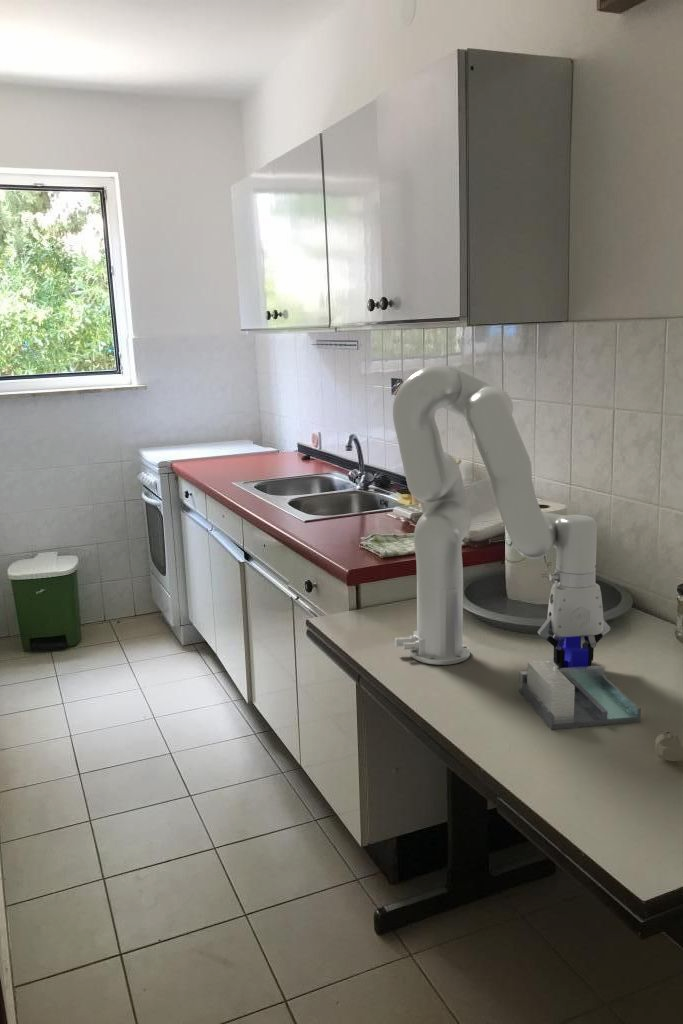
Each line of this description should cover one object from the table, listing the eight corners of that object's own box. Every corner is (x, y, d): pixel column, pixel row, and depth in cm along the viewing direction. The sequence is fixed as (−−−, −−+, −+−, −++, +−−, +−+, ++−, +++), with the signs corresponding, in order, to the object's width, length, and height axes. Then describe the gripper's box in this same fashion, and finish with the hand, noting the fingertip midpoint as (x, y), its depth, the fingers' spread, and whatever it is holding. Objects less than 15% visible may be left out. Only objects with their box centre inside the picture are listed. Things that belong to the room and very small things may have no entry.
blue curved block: (556, 656, 174) (557, 629, 173) (579, 657, 174) (579, 629, 173) (563, 679, 163) (564, 650, 162) (587, 680, 162) (588, 651, 161)
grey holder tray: (551, 729, 142) (552, 691, 141) (519, 691, 158) (519, 656, 156) (640, 722, 144) (642, 684, 143) (599, 684, 160) (601, 650, 158)
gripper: (540, 586, 160) (539, 676, 163) (625, 580, 162) (622, 669, 166) (527, 575, 167) (525, 661, 171) (608, 570, 169) (605, 655, 173)
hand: (573, 664), depth 168 cm, fingers closed on blue curved block, 5 cm apart
